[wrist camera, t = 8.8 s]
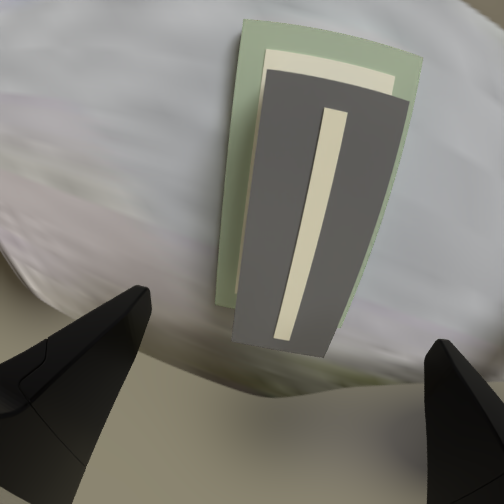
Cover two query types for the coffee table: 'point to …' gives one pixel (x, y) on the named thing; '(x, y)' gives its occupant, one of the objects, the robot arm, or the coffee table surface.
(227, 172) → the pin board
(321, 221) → the panel
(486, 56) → the coffee table surface
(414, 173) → the coffee table surface
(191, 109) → the coffee table surface
